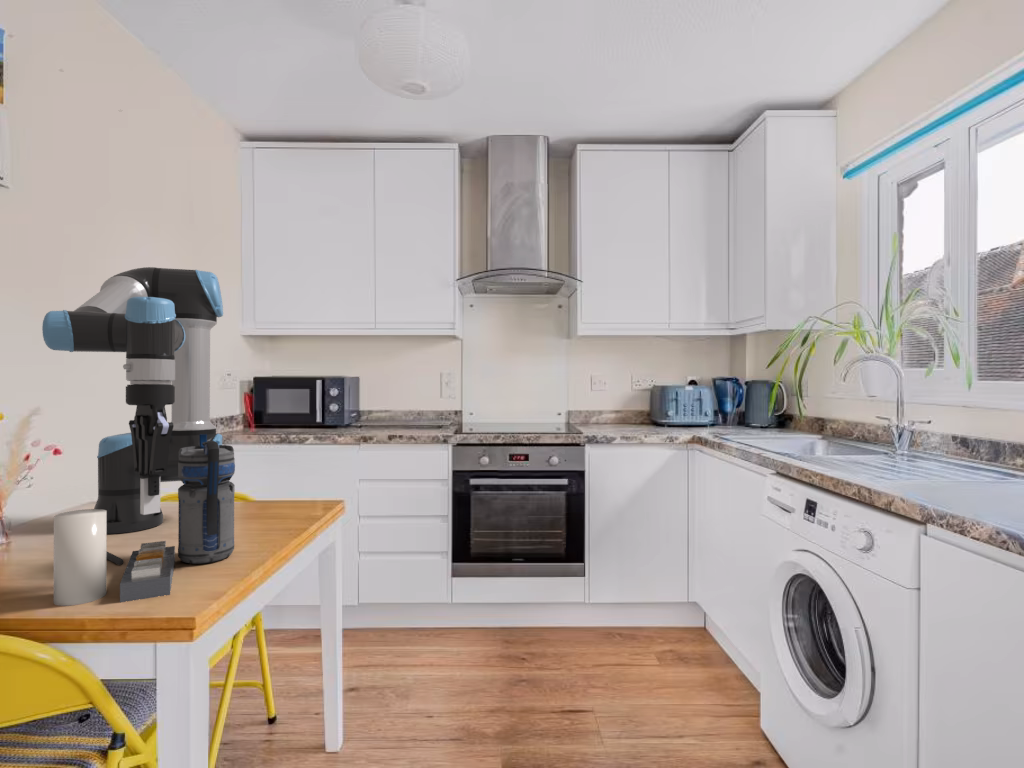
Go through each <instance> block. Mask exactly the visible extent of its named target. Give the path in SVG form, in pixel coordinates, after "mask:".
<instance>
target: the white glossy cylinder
mask: <svg viewBox="0 0 1024 768" xmlns="http://www.w3.org/2000/svg"><path fill="white" fill-rule="evenodd" d="M107 536H108V534H107V511H106V510H103V509H94V508H87V509H78V510H77V509H76V510H71V511H70V510H69V511H66V512H61V513H57V514H55V515H54V516H53V604H54V605H55V606H59V607H62V606H63V607H66V606H67V607H69V606H78V605H83V604H88V603H91V602H95V601H97V600H100V599H102V598H104V597H105V596H106V595H107V559H106V551H107V541H108V540H107Z"/></svg>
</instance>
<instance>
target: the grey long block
mask: <svg viewBox="0 0 1024 768" xmlns="http://www.w3.org/2000/svg"><path fill="white" fill-rule="evenodd" d="M166 542H167V541H166V540H161V541H154V542H153V541H152V542H145V543H141V544H140V549H139V550H133V551H132V552H131V555H130V557H129V560H128V563H127V565H126V568H125V570H124V572H123V575H122V578H121V579H120V580H121V581H120V582H119V603H125V602H126V601H127V602H133V600H134V601H138V600H139V599H140V600H146V599H147V600H148V599H152V598H159V597H158V596H160V597H164V595H166V596H170V595H171V592H170V591H172V585H171V584H173V578H172V577H174V571H175V563H176V557H175V556H176V546H174V545H172V546H167V545H166ZM127 602H126V603H127Z"/></svg>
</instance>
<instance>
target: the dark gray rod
mask: <svg viewBox="0 0 1024 768" xmlns="http://www.w3.org/2000/svg"><path fill="white" fill-rule="evenodd" d="M106 560H108V561H110V562H112V563H114V564H116V565H119V566H121V565H123V564H124V558H122V557H119V556H117V555H115V554H113V553H111V552H109V551H108V550H106Z"/></svg>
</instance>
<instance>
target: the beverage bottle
mask: <svg viewBox="0 0 1024 768" xmlns="http://www.w3.org/2000/svg"><path fill="white" fill-rule="evenodd" d="M234 451H235V450H234V448H233V445H225V444H222V445H218V443H217V442H215V441H207V434H199V444H198V446H191V447H184V448H181V449H180V450H179V461H178V477H179V479H180V480H181V481H180V482H181V483H182V485H180V486H179V488H178V487H177V488H178V489H177V499H178V535H177V536H178V538H177V539H178V544H177V545H178V546H177V556H178V558H179V560H180V562H183V563H186V564H187V563H188V564H192V565H198V564H199V565H202V564H203V565H204V564H211V563H215V562H219V561H222V560H224V559H225V558H228V557H230V556H231V555H232V554H233V552H234V550H235V490H236V489H235V484H234V482H232V481H231V479H232V477H233V476H234V474H235V471H236V463H235V461H236V459H235V452H234Z"/></svg>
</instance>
